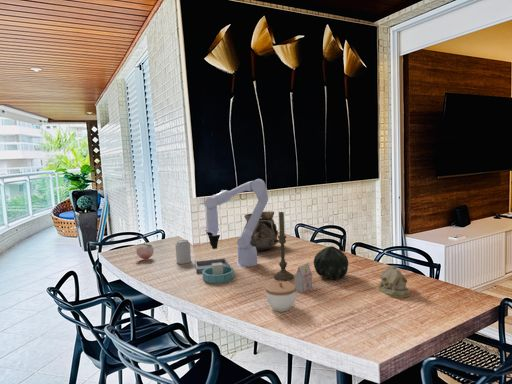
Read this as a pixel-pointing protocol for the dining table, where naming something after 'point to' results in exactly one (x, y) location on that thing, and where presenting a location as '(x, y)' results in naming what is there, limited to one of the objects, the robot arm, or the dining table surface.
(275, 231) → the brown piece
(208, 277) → the bowl
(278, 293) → the lidded jar
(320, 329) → the dining table surface
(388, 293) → the ceramic model
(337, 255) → the squash
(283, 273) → the candlestick holder
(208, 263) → the parts tray
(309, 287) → the milk carton
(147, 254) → the decorative fruit
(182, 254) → the can
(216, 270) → the gray rectangular block
